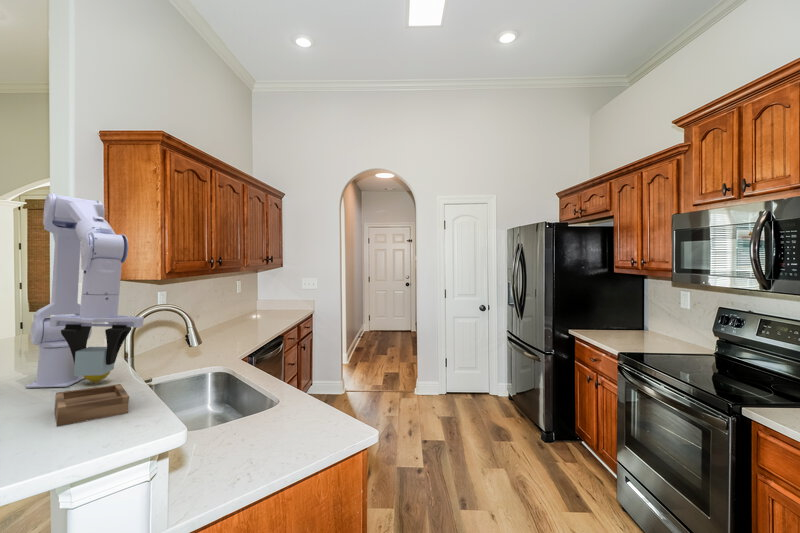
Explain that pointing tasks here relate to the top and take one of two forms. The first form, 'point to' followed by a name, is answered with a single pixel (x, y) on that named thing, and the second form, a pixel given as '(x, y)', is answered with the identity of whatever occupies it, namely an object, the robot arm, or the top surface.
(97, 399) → the walnut base
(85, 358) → the block
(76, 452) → the top surface
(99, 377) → the lemon
